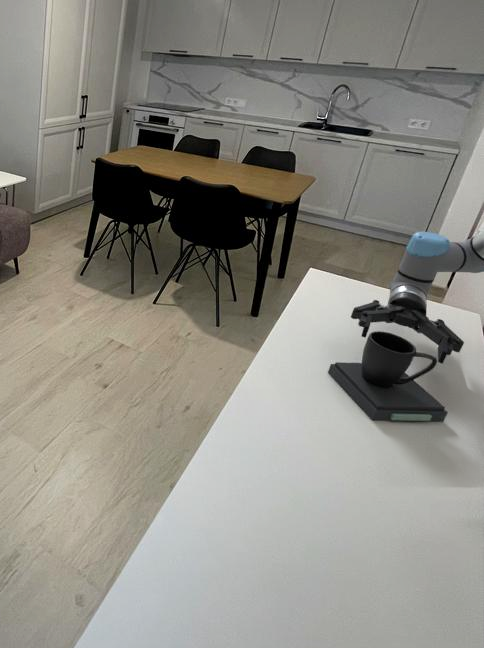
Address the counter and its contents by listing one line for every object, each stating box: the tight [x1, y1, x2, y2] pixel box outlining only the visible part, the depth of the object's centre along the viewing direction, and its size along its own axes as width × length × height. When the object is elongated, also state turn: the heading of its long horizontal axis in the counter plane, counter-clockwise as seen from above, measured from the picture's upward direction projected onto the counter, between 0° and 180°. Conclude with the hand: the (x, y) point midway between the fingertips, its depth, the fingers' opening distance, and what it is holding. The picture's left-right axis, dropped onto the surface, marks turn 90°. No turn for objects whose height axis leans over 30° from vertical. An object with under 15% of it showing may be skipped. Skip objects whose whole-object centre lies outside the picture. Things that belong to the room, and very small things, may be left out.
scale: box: [327, 361, 449, 423], centre depth 104 cm, size 16×15×3 cm
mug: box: [361, 330, 438, 388], centre depth 102 cm, size 8×12×10 cm
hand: (402, 344), depth 103 cm, fingers open, 13 cm apart
